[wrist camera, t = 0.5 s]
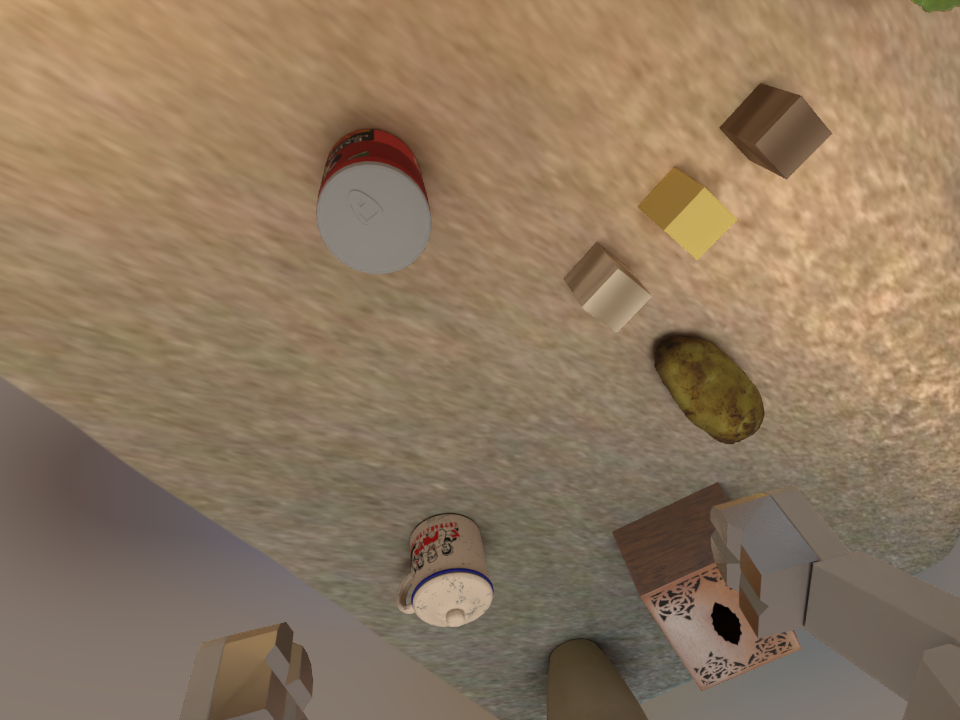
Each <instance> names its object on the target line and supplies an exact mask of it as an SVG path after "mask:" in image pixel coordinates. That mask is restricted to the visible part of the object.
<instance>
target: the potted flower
mask: <svg viewBox="0 0 960 720" xmlns="http://www.w3.org/2000/svg"><path fill="white" fill-rule="evenodd" d="M911 1H913V2H914V3H915V4H918V5H919V6H921V5H922V8H923V10H924V11H925V12H929V13H930V12H932V11H942V12H945V11H949V10H952V9H953V8H954V7H960V0H911Z"/></svg>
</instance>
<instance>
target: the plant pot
mask: <svg viewBox="0 0 960 720" xmlns="http://www.w3.org/2000/svg"><path fill="white" fill-rule="evenodd" d="M547 720H648V719H647V717H646V715H645V713H644V711H643V710H642V708H641V706H640V705H639V703H638V701H637V700H636V698H635V696H634V695H633V693H632V692H631V690H630V689H629V687H628V686H627V684H626V683H625V681H624V680H623V678H622V677H621V675H620V674H619V673H618V671H617V670H616V669H615V667H614V666H613V665H612V663H611V662H610V661H609V659H608V658H607V657H606V656H605V655H604V653H603V652H602V651H601V650H600V649H599V647H598V646H597V645H596V644H595V643H594V642H592V641H590V640H586V639H576V640H571V641H568V642H565V643H563V644H561V645H560V646H558V647H557V648H556V649H555V650H554V651H553V652H552V654H551V656H550V663H549V672H548V684H547Z"/></svg>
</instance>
